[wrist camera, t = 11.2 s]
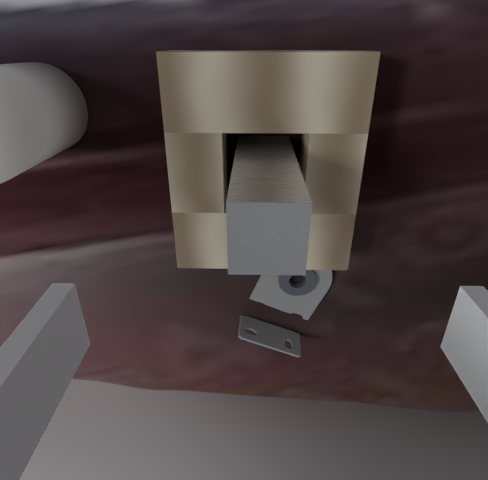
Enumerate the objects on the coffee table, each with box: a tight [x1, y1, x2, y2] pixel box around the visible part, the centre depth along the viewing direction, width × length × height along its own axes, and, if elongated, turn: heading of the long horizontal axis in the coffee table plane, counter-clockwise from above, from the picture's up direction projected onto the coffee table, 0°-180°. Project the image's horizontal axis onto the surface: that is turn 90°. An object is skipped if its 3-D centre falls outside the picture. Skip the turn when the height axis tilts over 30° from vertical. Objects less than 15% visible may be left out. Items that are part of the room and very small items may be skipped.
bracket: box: [238, 270, 332, 357], centre depth 36 cm, size 7×10×4 cm, turn 158°
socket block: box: [156, 50, 381, 270], centre depth 29 cm, size 14×16×4 cm
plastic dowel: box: [0, 62, 88, 184], centre depth 25 cm, size 6×6×9 cm
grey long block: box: [226, 136, 312, 275], centre depth 25 cm, size 4×4×14 cm
